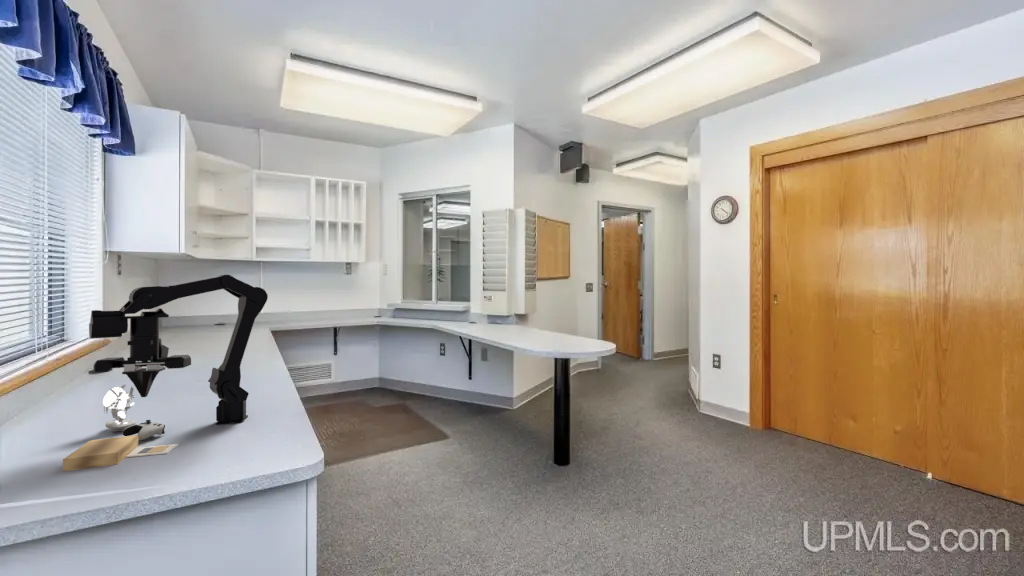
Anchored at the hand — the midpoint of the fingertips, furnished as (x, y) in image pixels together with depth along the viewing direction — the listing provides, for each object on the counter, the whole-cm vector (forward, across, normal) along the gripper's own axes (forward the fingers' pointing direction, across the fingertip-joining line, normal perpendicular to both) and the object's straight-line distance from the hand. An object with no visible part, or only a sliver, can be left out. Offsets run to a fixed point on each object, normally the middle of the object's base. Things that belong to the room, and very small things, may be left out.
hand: (144, 396), depth 113 cm
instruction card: (+11, -6, +11) cm, 17 cm away
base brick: (+11, +3, +12) cm, 17 cm away
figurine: (+11, +10, -10) cm, 18 cm away
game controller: (+11, +2, 0) cm, 11 cm away
